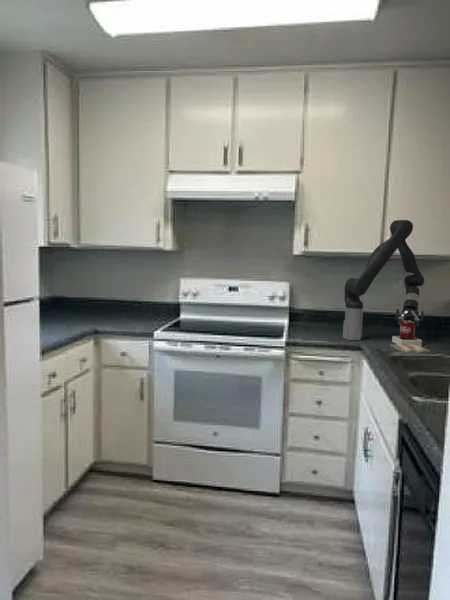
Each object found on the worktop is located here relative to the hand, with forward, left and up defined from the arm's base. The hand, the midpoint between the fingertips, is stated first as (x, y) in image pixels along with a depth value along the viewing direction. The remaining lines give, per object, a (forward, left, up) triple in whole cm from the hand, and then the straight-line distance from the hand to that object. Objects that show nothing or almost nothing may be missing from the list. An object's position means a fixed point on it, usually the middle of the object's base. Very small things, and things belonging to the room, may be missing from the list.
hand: (408, 326), depth 260 cm
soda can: (-1, -2, -9) cm, 9 cm away
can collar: (-1, -2, -9) cm, 9 cm away
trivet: (-6, -16, -9) cm, 19 cm away
